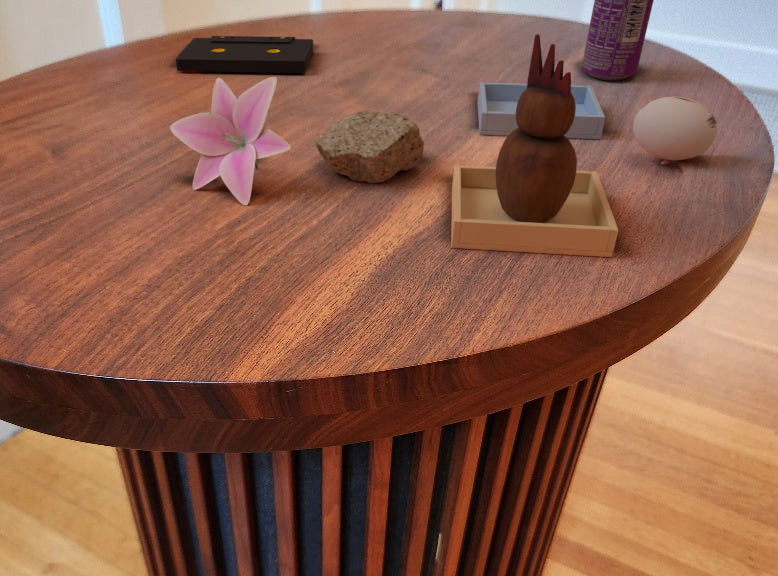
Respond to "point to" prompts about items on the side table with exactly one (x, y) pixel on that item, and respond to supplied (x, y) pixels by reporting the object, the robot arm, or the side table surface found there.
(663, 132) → the beige smooth oval piece
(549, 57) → the wooden figurine
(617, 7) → the beverage can
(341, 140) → the rock
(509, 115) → the blue tray
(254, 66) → the cassette tape
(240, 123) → the lily
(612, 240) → the birch tray
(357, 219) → the side table surface
